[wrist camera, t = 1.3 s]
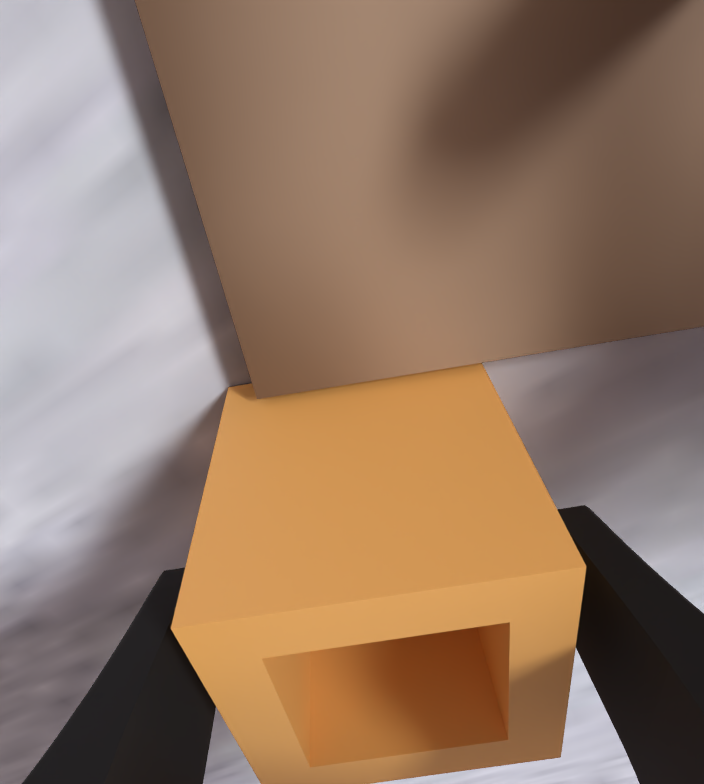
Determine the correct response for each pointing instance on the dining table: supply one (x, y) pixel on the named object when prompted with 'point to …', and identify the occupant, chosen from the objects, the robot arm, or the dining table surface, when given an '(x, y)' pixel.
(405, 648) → the orange hollow cube
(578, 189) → the wooden board with peg
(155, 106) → the dining table surface
